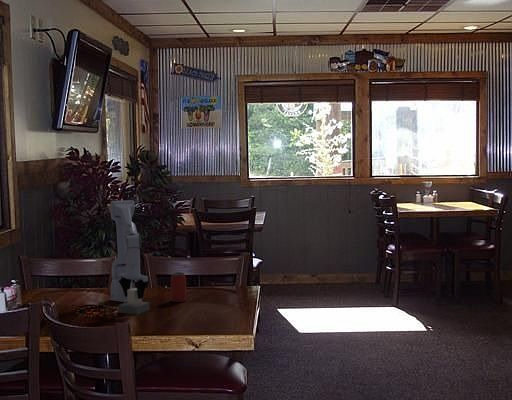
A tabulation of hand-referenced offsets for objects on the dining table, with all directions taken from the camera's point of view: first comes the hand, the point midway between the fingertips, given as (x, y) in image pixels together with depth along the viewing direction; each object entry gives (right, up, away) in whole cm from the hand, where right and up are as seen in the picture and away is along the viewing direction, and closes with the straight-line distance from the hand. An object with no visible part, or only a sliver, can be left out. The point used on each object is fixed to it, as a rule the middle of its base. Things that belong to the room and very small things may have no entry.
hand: (133, 297), depth 278 cm
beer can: (+16, -4, +18) cm, 25 cm away
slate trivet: (0, -6, 0) cm, 6 cm away
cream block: (0, -3, +1) cm, 3 cm away
